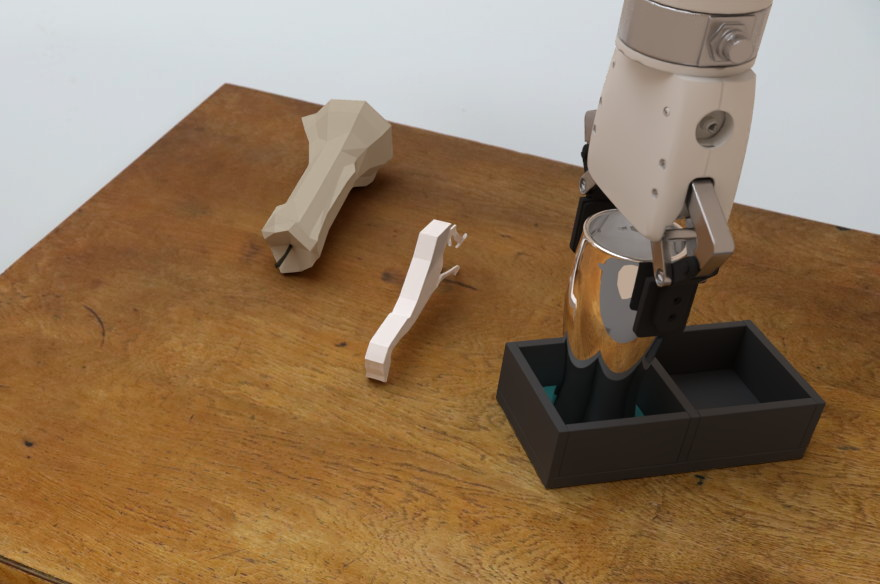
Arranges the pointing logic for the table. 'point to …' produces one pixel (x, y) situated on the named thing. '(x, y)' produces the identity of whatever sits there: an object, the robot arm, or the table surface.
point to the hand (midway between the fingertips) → (623, 289)
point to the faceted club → (327, 179)
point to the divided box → (666, 409)
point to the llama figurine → (412, 295)
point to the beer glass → (606, 321)
